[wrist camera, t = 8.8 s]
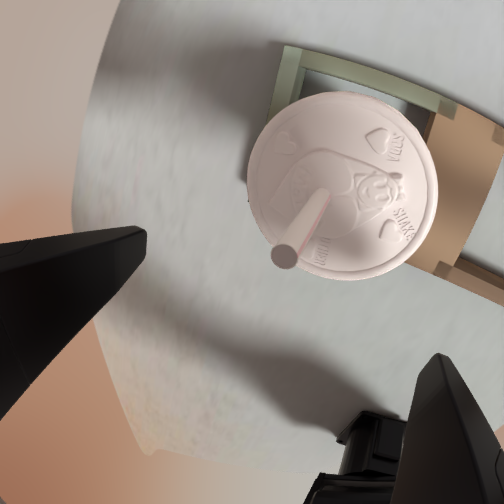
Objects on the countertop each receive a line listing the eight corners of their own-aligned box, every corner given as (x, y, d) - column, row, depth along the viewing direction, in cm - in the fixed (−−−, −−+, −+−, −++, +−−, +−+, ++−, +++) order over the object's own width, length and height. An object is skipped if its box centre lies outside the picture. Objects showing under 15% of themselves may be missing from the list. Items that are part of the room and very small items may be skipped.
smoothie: (295, 107, 18) (134, 130, 6) (401, 90, 15) (458, 57, 4) (317, 206, 20) (216, 365, 9) (417, 197, 17) (461, 371, 6)
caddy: (528, 306, 17) (535, 322, 15) (259, 192, 21) (247, 201, 20) (586, 191, 12) (600, 200, 10) (294, 50, 16) (284, 45, 15)
